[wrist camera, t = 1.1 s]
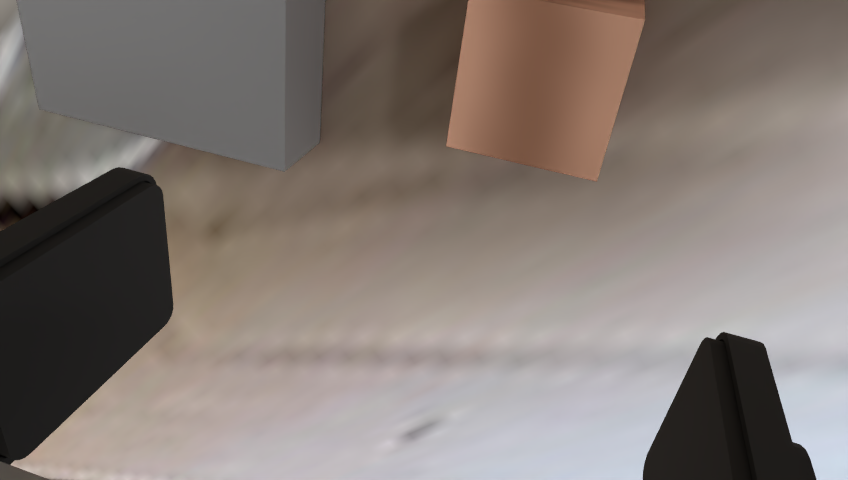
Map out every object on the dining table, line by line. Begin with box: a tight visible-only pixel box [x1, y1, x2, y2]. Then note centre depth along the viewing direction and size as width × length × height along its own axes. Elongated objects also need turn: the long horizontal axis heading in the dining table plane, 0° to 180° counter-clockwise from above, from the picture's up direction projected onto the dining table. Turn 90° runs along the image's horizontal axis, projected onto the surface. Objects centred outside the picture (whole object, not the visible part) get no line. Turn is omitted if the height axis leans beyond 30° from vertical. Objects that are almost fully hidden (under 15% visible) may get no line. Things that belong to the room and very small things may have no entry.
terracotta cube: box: [446, 0, 645, 181], centre depth 25 cm, size 6×6×6 cm
